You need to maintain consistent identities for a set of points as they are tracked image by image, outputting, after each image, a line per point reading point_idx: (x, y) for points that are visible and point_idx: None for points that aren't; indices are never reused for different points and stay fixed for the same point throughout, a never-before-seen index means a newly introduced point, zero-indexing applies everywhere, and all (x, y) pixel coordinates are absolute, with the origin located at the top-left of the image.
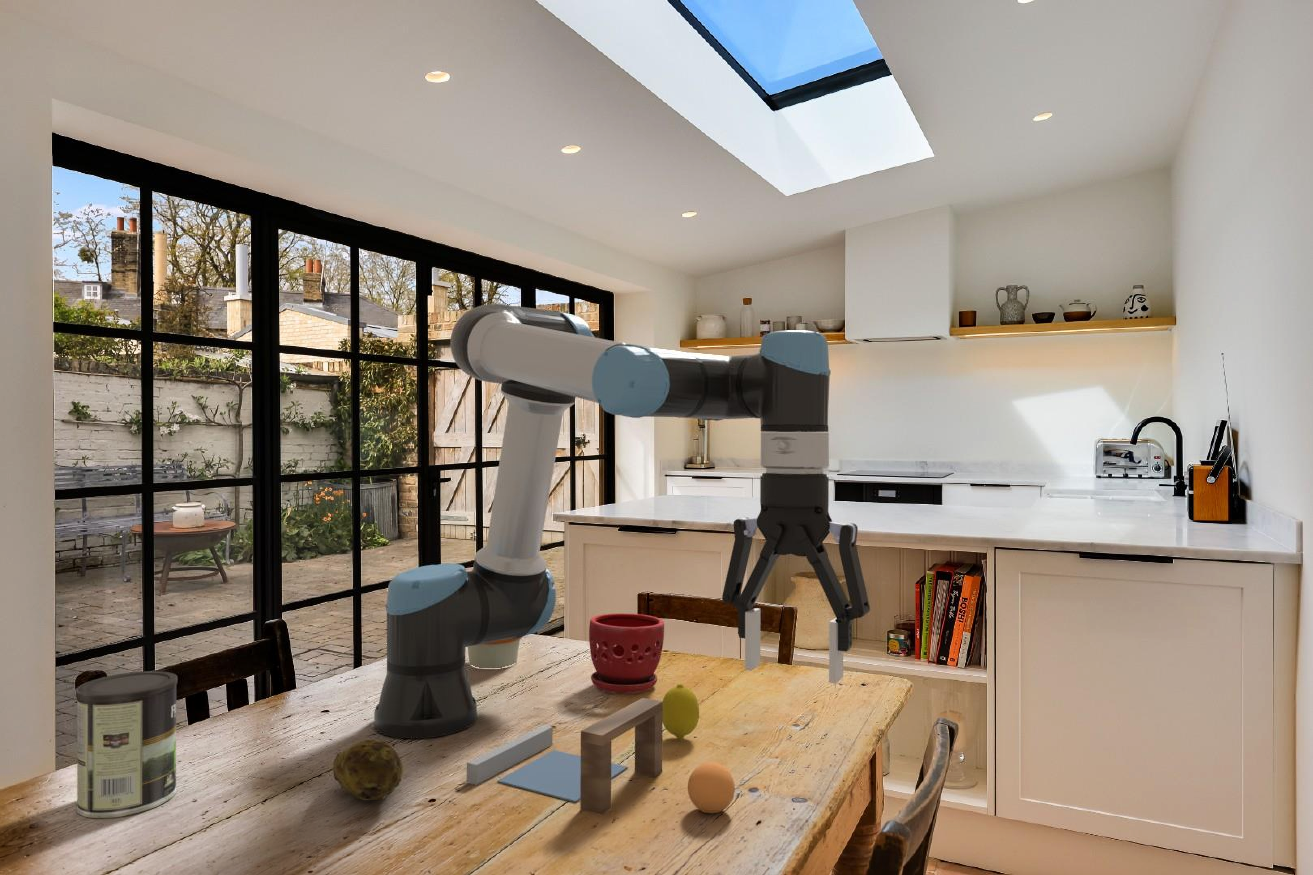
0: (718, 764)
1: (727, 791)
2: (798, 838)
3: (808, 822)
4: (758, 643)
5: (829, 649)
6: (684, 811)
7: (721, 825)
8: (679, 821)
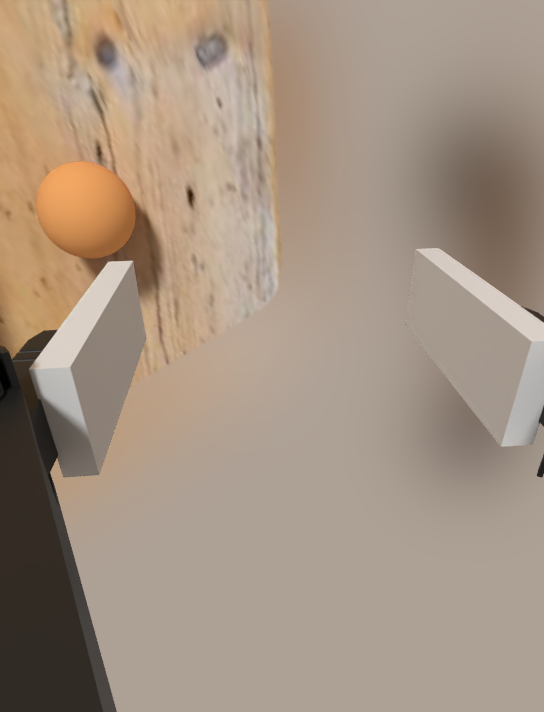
0: (84, 208)
1: (132, 228)
2: (270, 216)
3: (264, 148)
4: (118, 310)
5: (448, 378)
6: None
7: (145, 241)
8: (81, 265)
